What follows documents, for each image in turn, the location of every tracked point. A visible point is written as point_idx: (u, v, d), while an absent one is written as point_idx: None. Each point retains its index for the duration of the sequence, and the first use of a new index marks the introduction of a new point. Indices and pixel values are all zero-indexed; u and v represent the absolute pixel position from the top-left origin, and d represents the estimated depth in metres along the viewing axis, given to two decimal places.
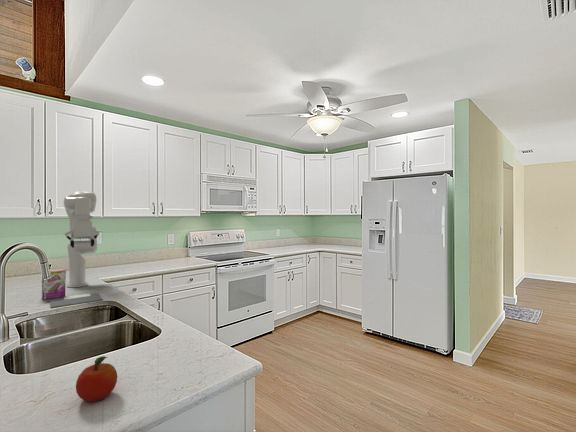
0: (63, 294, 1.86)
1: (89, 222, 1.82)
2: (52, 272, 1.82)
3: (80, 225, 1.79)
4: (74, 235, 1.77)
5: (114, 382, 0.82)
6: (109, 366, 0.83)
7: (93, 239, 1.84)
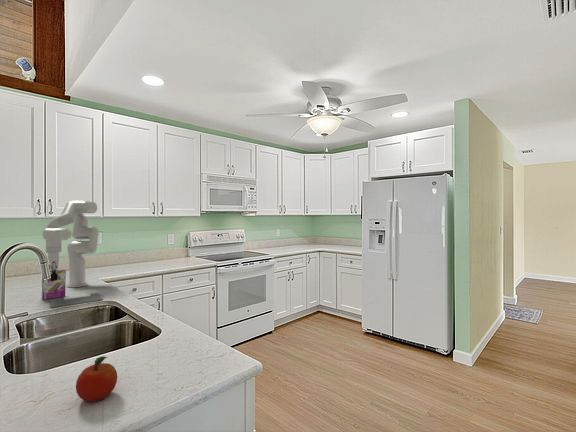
0: (63, 294, 1.86)
1: None
2: None
3: (58, 256, 1.85)
4: None
5: (114, 382, 0.82)
6: (109, 366, 0.83)
7: None
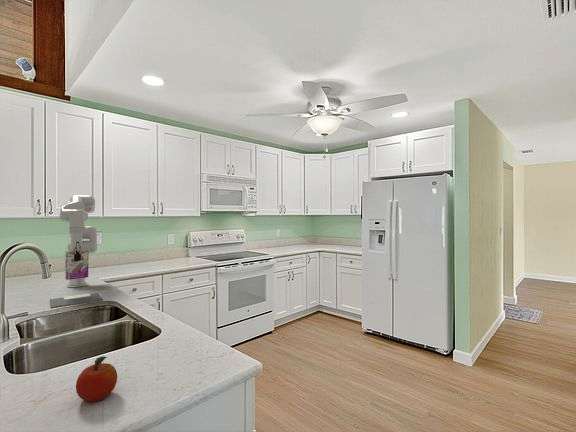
0: (86, 274, 1.86)
1: None
2: None
3: None
4: (81, 247, 1.82)
5: (114, 382, 0.82)
6: (109, 366, 0.83)
7: None
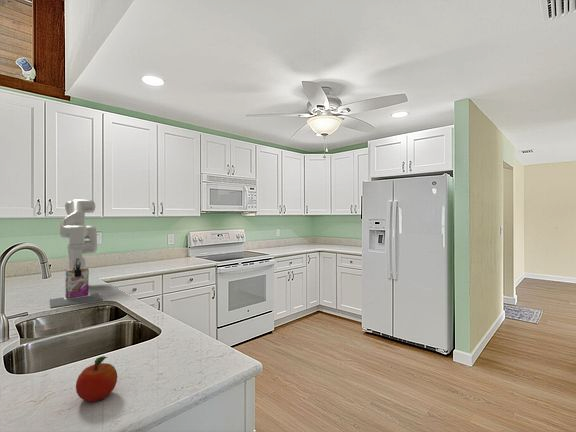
0: (86, 293, 1.86)
1: None
2: None
3: None
4: (81, 263, 1.82)
5: (114, 382, 0.82)
6: (109, 366, 0.83)
7: None
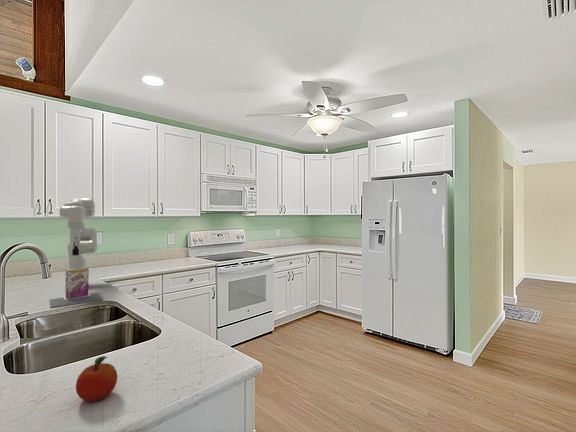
0: (86, 293, 1.86)
1: None
2: (76, 271, 1.82)
3: (80, 232, 1.92)
4: (79, 242, 1.90)
5: (114, 382, 0.82)
6: (109, 366, 0.83)
7: None
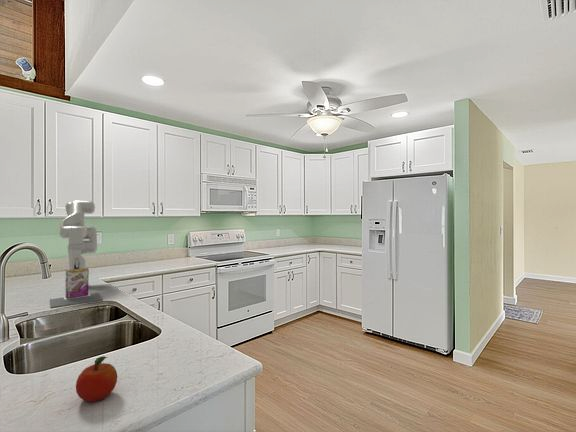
0: (86, 293, 1.86)
1: None
2: (76, 271, 1.82)
3: None
4: (80, 263, 1.86)
5: (114, 382, 0.82)
6: (109, 366, 0.83)
7: None
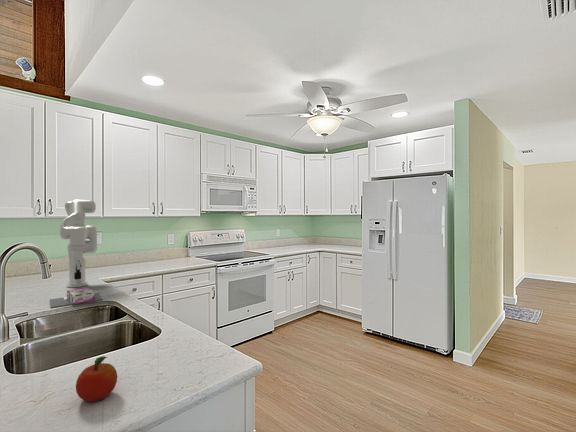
0: None
1: None
2: (81, 302, 1.71)
3: None
4: (82, 265, 1.79)
5: (114, 382, 0.82)
6: (109, 366, 0.83)
7: None
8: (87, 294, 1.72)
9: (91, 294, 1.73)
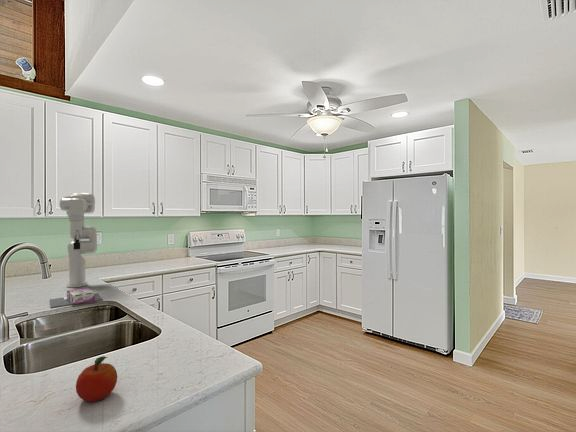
0: None
1: None
2: (81, 302, 1.71)
3: None
4: (81, 235, 1.83)
5: (114, 382, 0.82)
6: (109, 366, 0.83)
7: None
8: (87, 294, 1.72)
9: (91, 294, 1.73)
